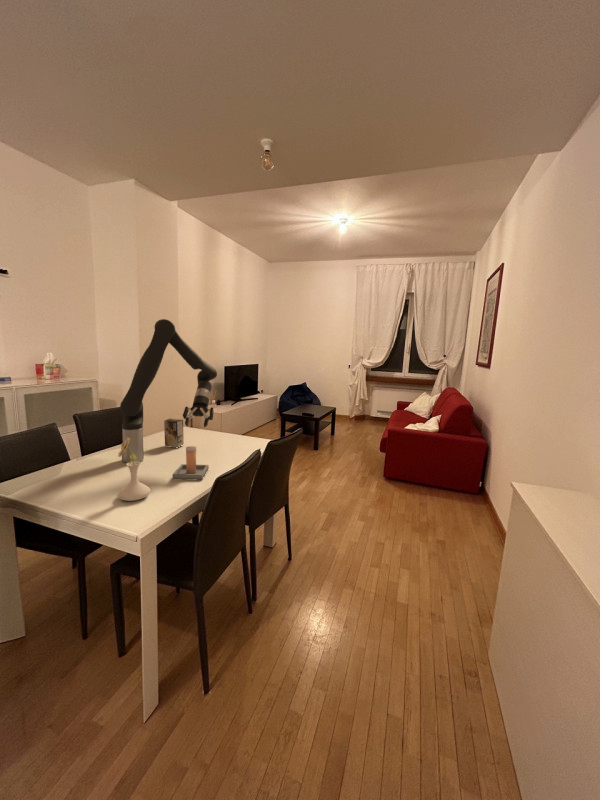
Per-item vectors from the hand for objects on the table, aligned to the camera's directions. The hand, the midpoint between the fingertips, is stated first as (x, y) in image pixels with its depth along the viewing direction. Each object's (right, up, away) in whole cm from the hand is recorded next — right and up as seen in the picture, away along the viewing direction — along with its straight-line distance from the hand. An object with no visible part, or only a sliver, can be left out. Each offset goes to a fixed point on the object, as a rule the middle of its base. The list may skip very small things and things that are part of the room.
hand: (195, 425), depth 159 cm
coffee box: (-24, -15, +36) cm, 46 cm away
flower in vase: (-14, -26, -31) cm, 43 cm away
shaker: (-1, -22, -5) cm, 22 cm away
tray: (0, -22, -5) cm, 23 cm away
